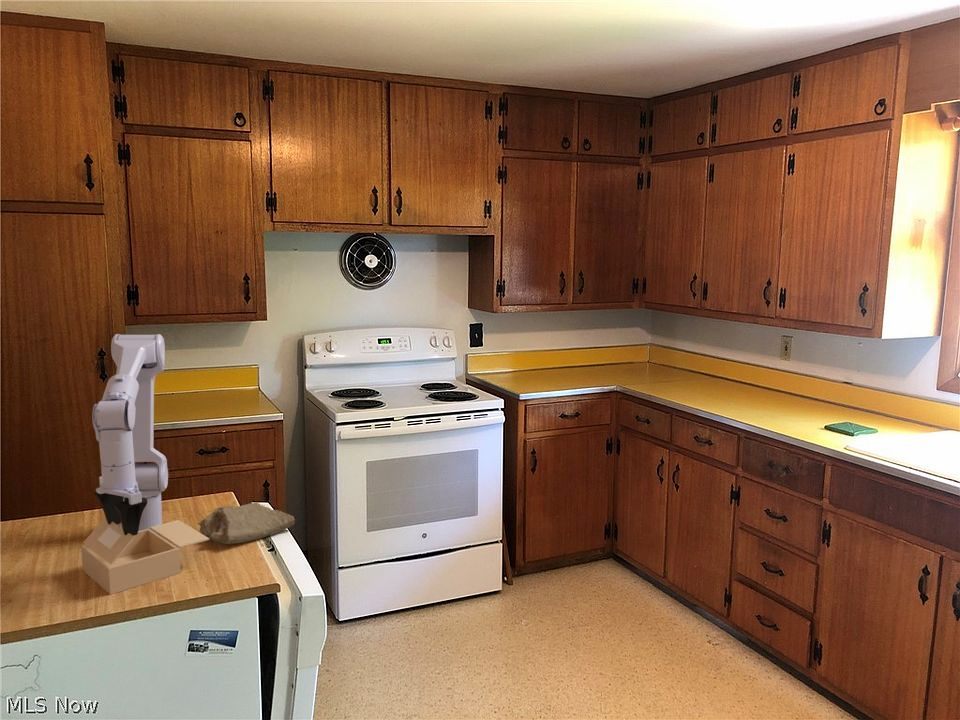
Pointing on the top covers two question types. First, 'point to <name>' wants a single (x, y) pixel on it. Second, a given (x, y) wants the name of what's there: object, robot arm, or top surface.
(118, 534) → the cardboard box flap
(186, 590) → the top surface
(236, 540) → the artifact
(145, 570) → the carton
